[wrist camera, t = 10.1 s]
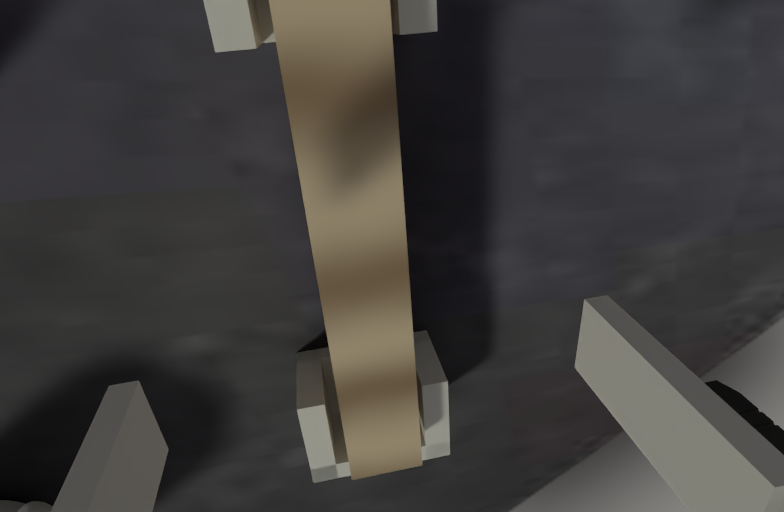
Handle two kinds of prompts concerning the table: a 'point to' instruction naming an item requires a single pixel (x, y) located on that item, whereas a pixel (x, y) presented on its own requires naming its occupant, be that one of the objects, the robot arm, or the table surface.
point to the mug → (24, 506)
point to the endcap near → (254, 26)
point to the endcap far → (325, 419)
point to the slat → (355, 216)
